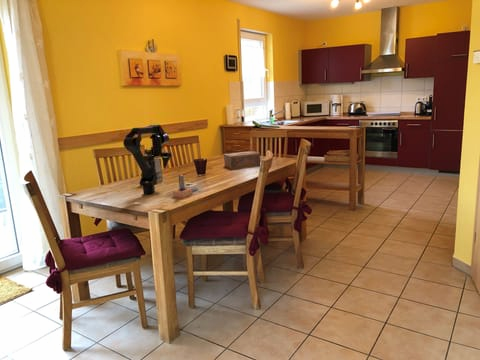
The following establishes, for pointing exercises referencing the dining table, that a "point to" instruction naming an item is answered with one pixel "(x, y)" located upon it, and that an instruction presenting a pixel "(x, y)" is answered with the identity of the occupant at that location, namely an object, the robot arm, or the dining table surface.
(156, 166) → the coffee box
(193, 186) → the socket block
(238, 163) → the tissue box cover
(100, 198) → the dining table surface
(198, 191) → the tool board
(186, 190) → the rack block
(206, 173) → the dining table surface
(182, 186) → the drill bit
